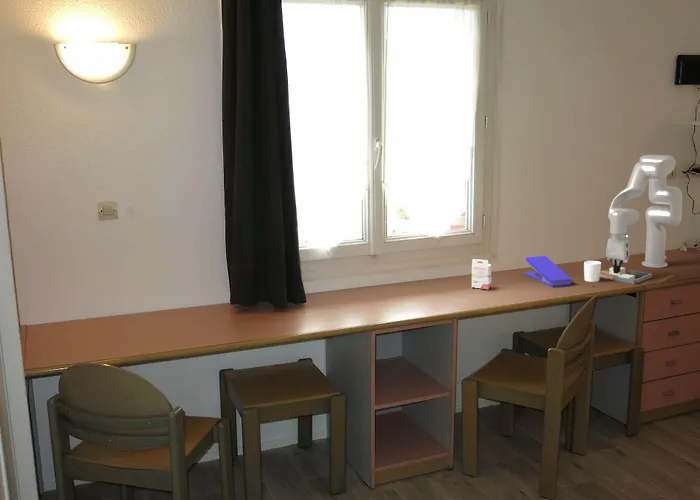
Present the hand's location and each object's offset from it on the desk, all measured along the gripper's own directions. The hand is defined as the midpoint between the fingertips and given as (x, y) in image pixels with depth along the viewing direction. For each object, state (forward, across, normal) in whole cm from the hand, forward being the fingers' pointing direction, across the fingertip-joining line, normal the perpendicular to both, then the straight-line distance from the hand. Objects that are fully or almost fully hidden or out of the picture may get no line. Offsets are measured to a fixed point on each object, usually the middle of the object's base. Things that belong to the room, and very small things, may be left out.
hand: (616, 272), depth 355 cm
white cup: (+4, +7, +12) cm, 14 cm away
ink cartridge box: (+3, +40, +55) cm, 68 cm away
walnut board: (+4, +6, -3) cm, 8 cm away
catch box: (+4, -7, -3) cm, 8 cm away
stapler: (+4, +26, +21) cm, 33 cm away
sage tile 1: (+3, -6, +1) cm, 7 cm away
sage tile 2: (+3, +4, -7) cm, 9 cm away
